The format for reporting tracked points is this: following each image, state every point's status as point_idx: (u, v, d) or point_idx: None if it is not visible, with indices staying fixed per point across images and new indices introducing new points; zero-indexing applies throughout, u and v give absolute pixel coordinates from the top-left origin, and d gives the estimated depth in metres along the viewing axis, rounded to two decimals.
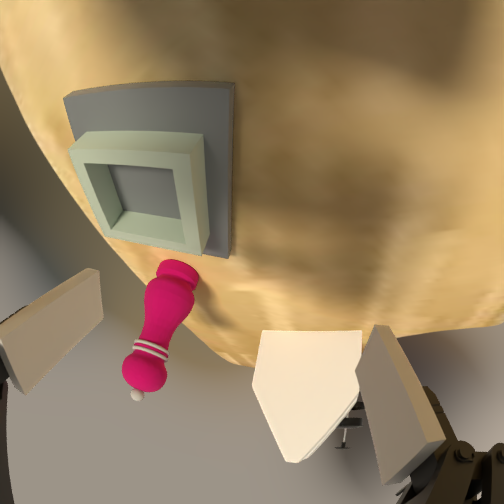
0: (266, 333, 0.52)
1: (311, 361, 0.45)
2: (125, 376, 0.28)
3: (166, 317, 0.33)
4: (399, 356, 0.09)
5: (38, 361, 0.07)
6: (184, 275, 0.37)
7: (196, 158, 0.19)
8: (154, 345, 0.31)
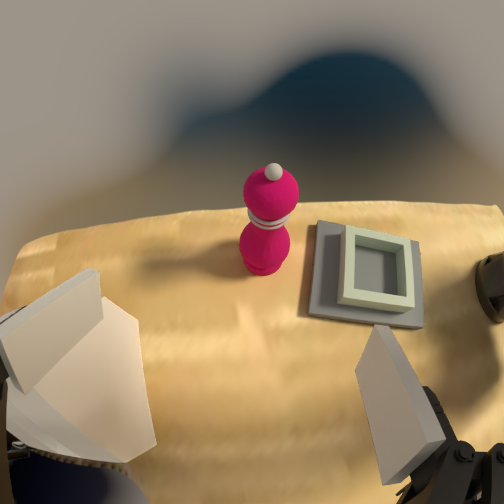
0: (136, 325, 0.37)
1: (130, 387, 0.28)
2: (291, 175, 0.28)
3: (279, 241, 0.35)
4: (399, 356, 0.09)
5: (38, 361, 0.07)
6: (277, 266, 0.41)
7: (404, 308, 0.36)
8: (286, 221, 0.32)
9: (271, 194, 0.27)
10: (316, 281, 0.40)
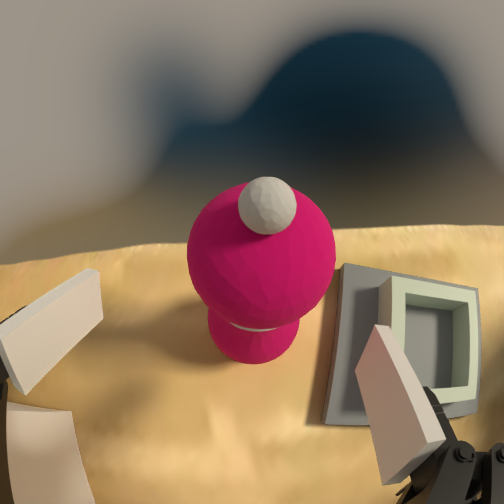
0: (69, 420, 0.19)
1: None
2: (318, 209, 0.10)
3: (281, 330, 0.17)
4: (399, 356, 0.09)
5: (38, 361, 0.07)
6: None
7: None
8: None
9: (259, 280, 0.08)
10: (339, 373, 0.22)
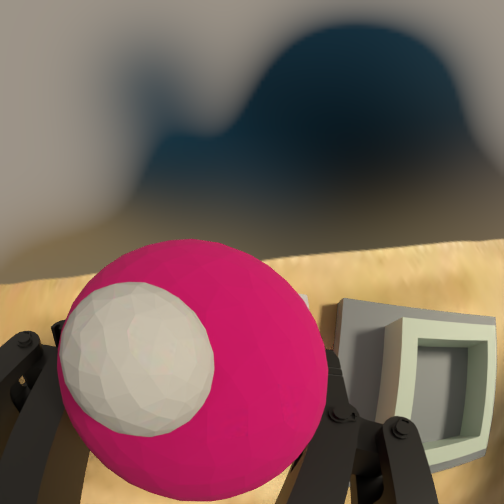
0: None
1: None
2: (296, 306, 0.05)
3: None
4: None
5: None
6: None
7: None
8: None
9: (152, 478, 0.03)
10: None
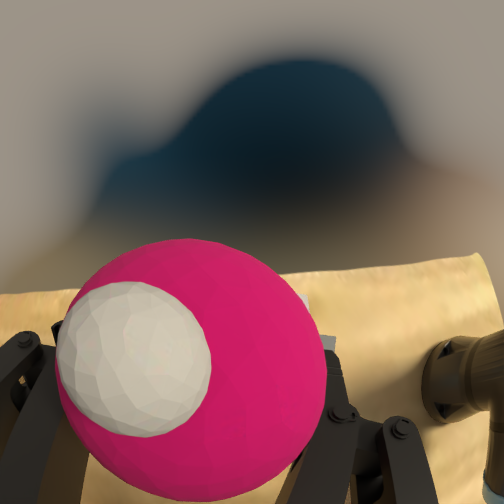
0: None
1: None
2: (295, 306, 0.05)
3: None
4: None
5: None
6: None
7: None
8: None
9: (150, 479, 0.03)
10: None
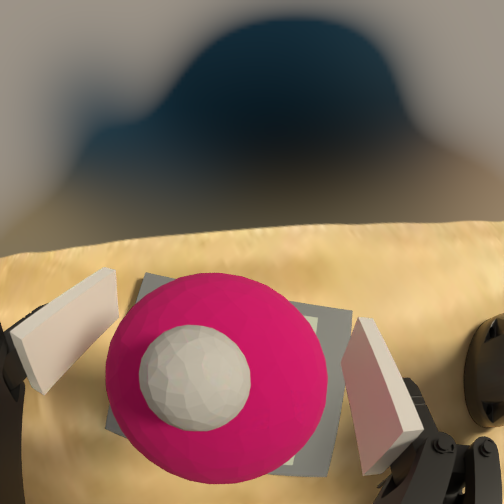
0: None
1: None
2: (304, 330, 0.06)
3: None
4: (380, 347, 0.09)
5: (57, 360, 0.08)
6: None
7: None
8: None
9: (194, 465, 0.04)
10: None
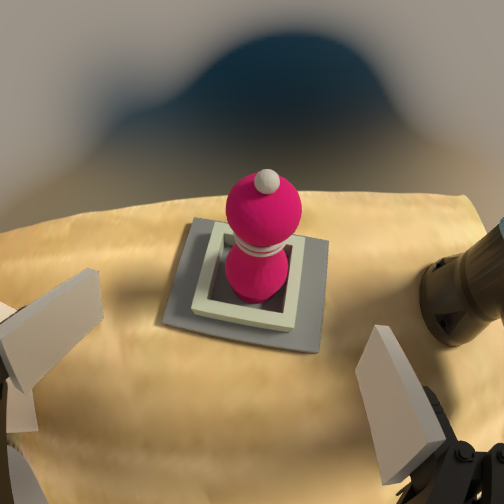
0: None
1: None
2: (292, 185, 0.21)
3: (275, 267, 0.28)
4: (399, 356, 0.09)
5: (38, 361, 0.07)
6: None
7: (282, 328, 0.31)
8: None
9: (263, 214, 0.19)
10: (175, 287, 0.35)
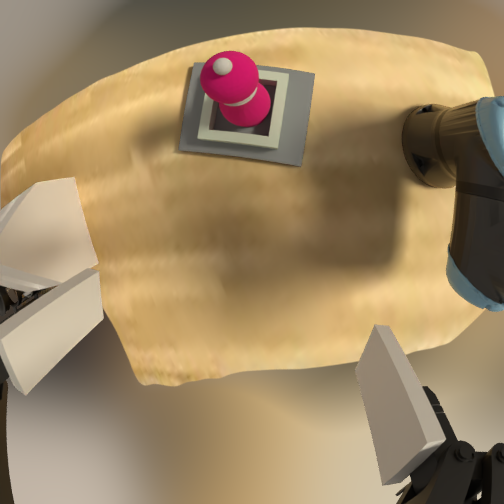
0: (73, 181, 0.46)
1: (68, 230, 0.44)
2: (247, 60, 0.21)
3: (254, 106, 0.31)
4: (399, 356, 0.09)
5: (38, 361, 0.07)
6: (260, 119, 0.37)
7: (269, 147, 0.39)
8: (253, 96, 0.27)
9: (223, 88, 0.22)
10: (185, 121, 0.40)
